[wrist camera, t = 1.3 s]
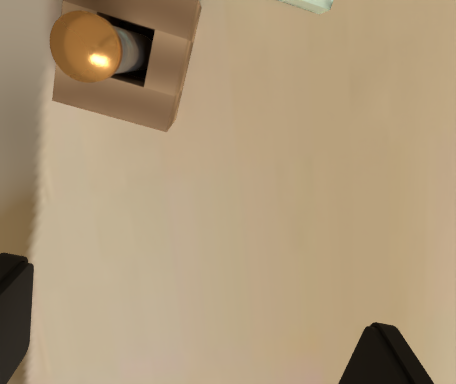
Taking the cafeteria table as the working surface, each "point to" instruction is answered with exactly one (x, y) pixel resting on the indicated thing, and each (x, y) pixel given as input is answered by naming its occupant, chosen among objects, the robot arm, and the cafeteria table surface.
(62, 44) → the lock pin
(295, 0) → the tray
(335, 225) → the cafeteria table surface
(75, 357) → the cafeteria table surface
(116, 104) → the block
